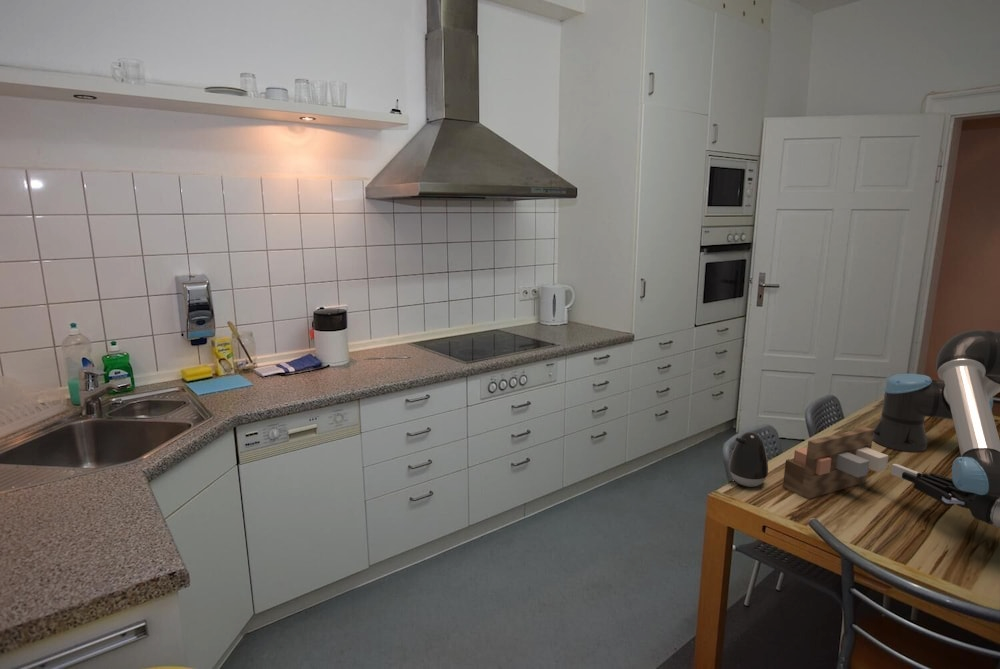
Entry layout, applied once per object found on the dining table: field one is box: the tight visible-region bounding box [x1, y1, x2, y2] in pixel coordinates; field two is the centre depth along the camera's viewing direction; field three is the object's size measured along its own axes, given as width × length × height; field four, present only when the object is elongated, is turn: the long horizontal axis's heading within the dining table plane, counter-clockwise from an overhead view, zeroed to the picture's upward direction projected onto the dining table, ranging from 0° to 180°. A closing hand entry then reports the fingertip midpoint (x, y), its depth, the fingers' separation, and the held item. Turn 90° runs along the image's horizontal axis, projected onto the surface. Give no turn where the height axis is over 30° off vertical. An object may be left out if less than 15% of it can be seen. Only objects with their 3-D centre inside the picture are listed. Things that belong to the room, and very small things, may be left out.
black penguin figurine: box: [728, 431, 769, 488], centre depth 160 cm, size 10×10×15 cm
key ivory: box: [856, 447, 889, 473], centre depth 157 cm, size 4×8×4 cm, turn 24°
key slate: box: [835, 451, 869, 478], centre depth 154 cm, size 4×8×4 cm, turn 24°
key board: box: [782, 426, 875, 500], centre depth 159 cm, size 24×8×16 cm, turn 114°
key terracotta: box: [793, 447, 831, 475], centre depth 155 cm, size 4×8×4 cm, turn 24°
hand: (893, 468), depth 151 cm, fingers closed
